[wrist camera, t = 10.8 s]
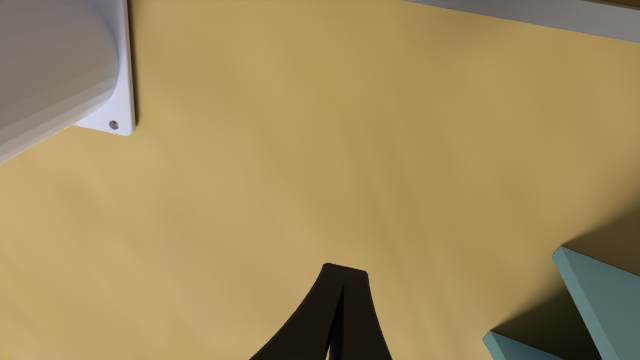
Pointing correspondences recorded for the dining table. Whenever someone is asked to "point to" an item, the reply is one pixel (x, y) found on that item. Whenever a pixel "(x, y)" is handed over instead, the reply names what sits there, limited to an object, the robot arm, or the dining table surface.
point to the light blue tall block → (589, 310)
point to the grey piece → (558, 14)
